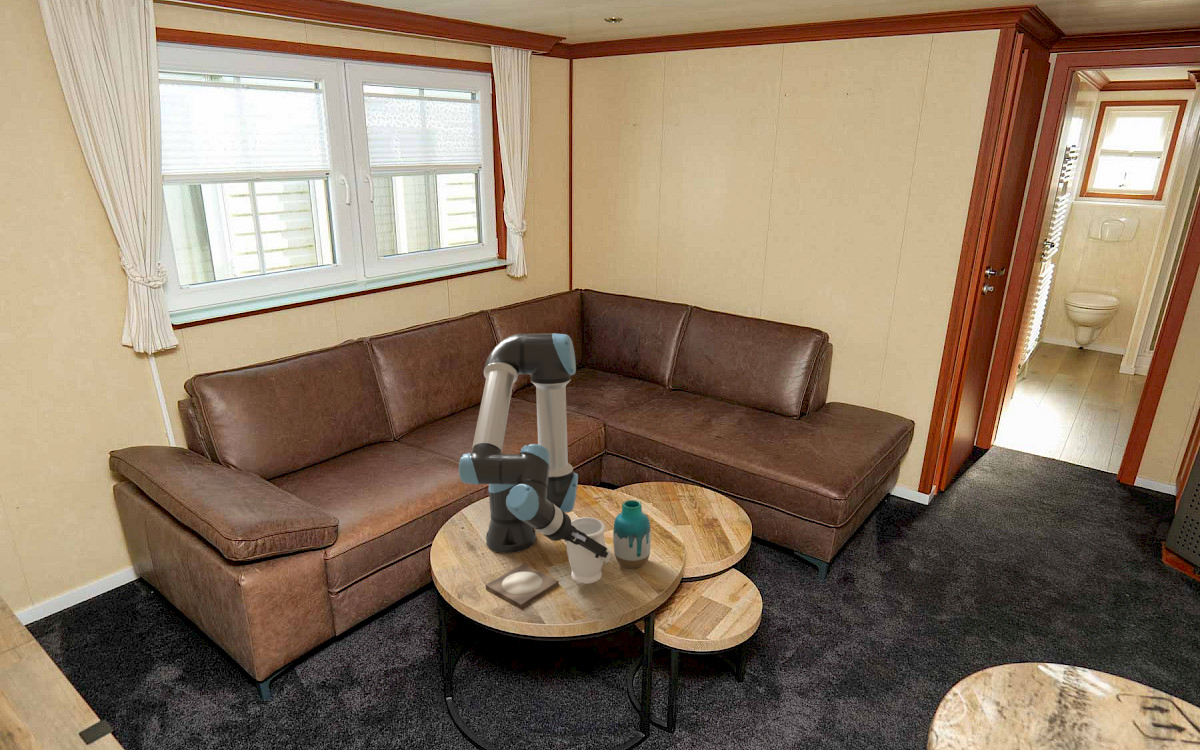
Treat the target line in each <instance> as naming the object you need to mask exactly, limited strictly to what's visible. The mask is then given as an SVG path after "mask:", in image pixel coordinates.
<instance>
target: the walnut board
mask: <svg viewBox="0 0 1200 750" xmlns="http://www.w3.org/2000/svg"><path fill="white" fill-rule="evenodd" d="M559 585H560V584H559V580H557V579H555V578H553V577H552V576H549V575H548V574H545V573H544V572H541V571H539V570H537V569H535V568H533V567H531V566H529V565H527V564H525V563H522V564H521V565H518V566H517V567H515V568H514V569H512V570H510V571H508V572H506V573H505V574H502V575H501V576H499V577H498V578H496V579H494V580H492V581H490V582H489V583H487V584H485V590H487V591H489V592H490V593H492V594H495V595H496V596H497V597H500V598H502V599H504V600H505V601H507V602H509V603H511V604H513V606H516V607H518V608H519V609H523V608H524V607H526V606H528V605H529V604H531V603H532V602H534V601H536V600H537V599H539V598H540V597H542V596H543V595H545V594H547V593H549V592H550V591H551V590H553V589H555V588H556V587H558V586H559Z"/></svg>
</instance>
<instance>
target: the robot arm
mask: <svg viewBox="0 0 1200 750" xmlns="http://www.w3.org/2000/svg"><path fill="white" fill-rule="evenodd" d="M576 365H577V364H576V354H575V348H574V344H573V340H572V338H571V337H570V335H568V334H565V333H555V332H548V333H547V332H546V333H515V334H512V335H509V336H507V337H505V338H504V339H502V340H501V341H500V342H499V343H497V345H496V346H495V347H494V348H493V349H492V350H491V352H490V353H489V355H488V357H487V359H486V361H485V364H484V367H483V376H484V378H485V383H484V387H483V392H482V397H481V402H480V407H479V413H478V417H477V422H476V428H475V432H474V437H473V443H472V447H471V448H472V449H471V453H470V452H468V453H464V454H462V455H461V456H460V458H459V465H458V475H459V478H460V481H461V482H462V483H463V484H468V485H488V495H489V497H488V498H489V499H488V500H489V511H490V512H489V513H490V521H489V525H488V531H487V532H486V535H485V538H486V539H485V540H486V542H485V543H486V546H487V547H488V548H489V549H490V550H491V551H493V552H496V553H501V554H515V553H519V552H520V553H521V552H523V551H525V550H528V549H529V548H532V547H533V546H534V544H535V543H536V541H537V535H536V534H542V536H544V537H546V538H547V539H549V540H551V541H553V542H557V541H561V540H562V541H564V542H565V543H567V541H570V542H572V543H573V544H576V545H578V544H579V545H581V546H582V547H584V548H586V549H588V550H589V551H591V552H593V553H595V554H594V555H595V557H596V558H598V557H599V558H600V559H602V560H603V563H607V564H609V562H610V560H611V558H612V556H613V553H612V552H610V551H609V550H608V547H606V546H605V547H604V546H603V545H601V544H599V543H598V542H596V541H595V540H593V539H592V538H590V537H588V536H587V535H586V534H585V533H583V532H581V531H579V530H577V529H576V528H575V527H574V526H572V525H571V520H572V519H571V517H570V516H569V514H567V513H569V512H572V511H573V510H574V507H575V505H576V498H577V497H576V496H577V492H578V491H577V490H578V483H579V482H578V481H579V474H578V473H576V472H574V468H573V466H572V464H570V463H569V462H568V457H569V456H568V429H567V427H568V425H567V420H568V419H567V392H566V391H567V387H566V386H567V385H568V384H569V383H570V382H571V380H572V377H571V376H574V375H575V374H576V372H577V371H576V370H577V366H576ZM519 375H530V382H531V384H533V385H534V386H535V389H536V390H535V393H536V396H535V397H536V419H537V420H536V421H537V424H536V425H537V443H530V444H528V445H527V444H526V445H523V447H521V449H520V451H519V453H503V447H504V440H505V435H506V429H507V422H508V415H509V412H510V411H509V409H510V404H511V398H512V392H513V386H514V383H516V382H517V380H518V377H519ZM577 533H578V534H577ZM575 538H576V540H575V541H573V540H574V539H575Z"/></svg>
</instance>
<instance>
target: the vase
mask: <svg viewBox="0 0 1200 750" xmlns="http://www.w3.org/2000/svg"><path fill="white" fill-rule="evenodd" d="M651 530H652V529H651V522H650V518H649V517H648V515H647V514H646V513H644V512H643V508H642V502H641V501H639V500H636V499H627V500H624V501H623V502H622V506H621V512H620V513H618V514H617V515H616V517H615V518H614V524H613V530H612V532H613V537H612V539H613V542H612V543H613V551H614V552H613V553H614V557H615V560H616V562H617V563H618V564H619V565H620V566H621V567H624V568H627V569H638V568H640V567H643V566H644V565H646V563H647V562H648V560H649V557H650V554H651V547H652V546H651V543H652V541H651V540H652V539H651V538H652V537H651V536H652V534H651V533H652V532H651Z"/></svg>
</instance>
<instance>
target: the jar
mask: <svg viewBox="0 0 1200 750" xmlns="http://www.w3.org/2000/svg"><path fill="white" fill-rule="evenodd" d="M571 525H572V526H574V527H575V528H576V529H577V530H579V531H581V532H583V533H585V534H586V535H587V536H588V537H590V538H592V539H593V540H595V541H596V542H598V543H599V544H601V545H603V546H604V547H606V540H605V539H606V538H605V534H604V532H605V530H606V526H605V523H604V522H603V521H602V520H600V519H598V518H595V517H590V516H589V517H588V516H584V517H581V516H580V517H576V518H574V519H571ZM577 534H578V533H577ZM575 540H576V538H575V539H574V540H573V541H575ZM566 553H567V558H568V563H569V566H570V569H571V574H570V575H571V578H572V579H573V581H575V582H576V583H580V584H586V585H587V584H588V585H589V584H594V583H595V582H598V581H599V580H600V579H601V578H602V577H603V576H602V575H603V573H602V567H603V565H604V561H603V560H602V559H600V558H599V557H598V558H596V557H595V555H594V554H595V553H593V552H591V551H589V550H588V549H586V548H584V547H582V546H581V545H579V544H578V545H576V544H573V543H572V542H570V541H567V542H566Z"/></svg>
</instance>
